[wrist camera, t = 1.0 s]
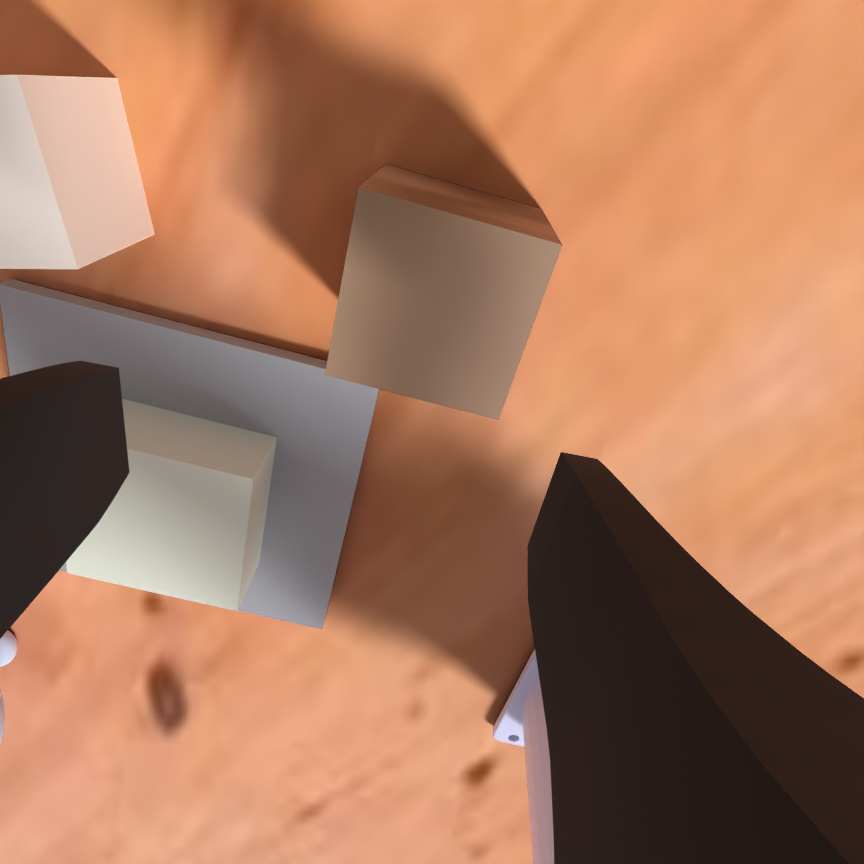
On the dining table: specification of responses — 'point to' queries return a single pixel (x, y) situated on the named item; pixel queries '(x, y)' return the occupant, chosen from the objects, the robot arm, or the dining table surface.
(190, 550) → the foundation brick
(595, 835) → the robot arm
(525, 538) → the dining table surface
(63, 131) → the cream block
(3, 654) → the toy figure
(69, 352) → the build board
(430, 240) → the walnut cube
